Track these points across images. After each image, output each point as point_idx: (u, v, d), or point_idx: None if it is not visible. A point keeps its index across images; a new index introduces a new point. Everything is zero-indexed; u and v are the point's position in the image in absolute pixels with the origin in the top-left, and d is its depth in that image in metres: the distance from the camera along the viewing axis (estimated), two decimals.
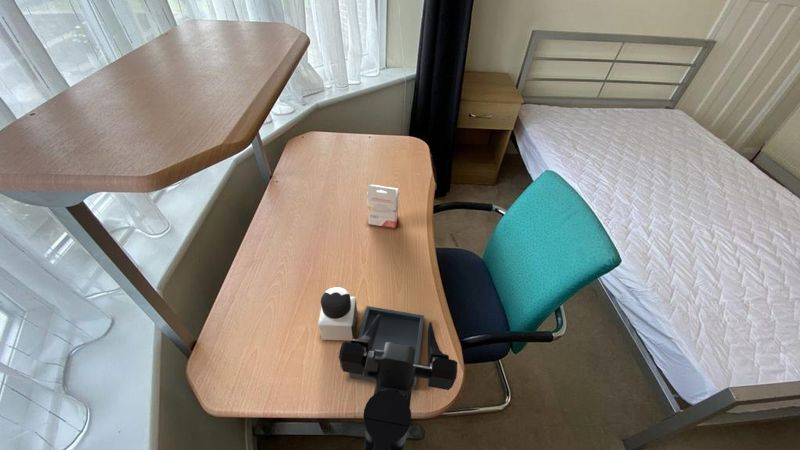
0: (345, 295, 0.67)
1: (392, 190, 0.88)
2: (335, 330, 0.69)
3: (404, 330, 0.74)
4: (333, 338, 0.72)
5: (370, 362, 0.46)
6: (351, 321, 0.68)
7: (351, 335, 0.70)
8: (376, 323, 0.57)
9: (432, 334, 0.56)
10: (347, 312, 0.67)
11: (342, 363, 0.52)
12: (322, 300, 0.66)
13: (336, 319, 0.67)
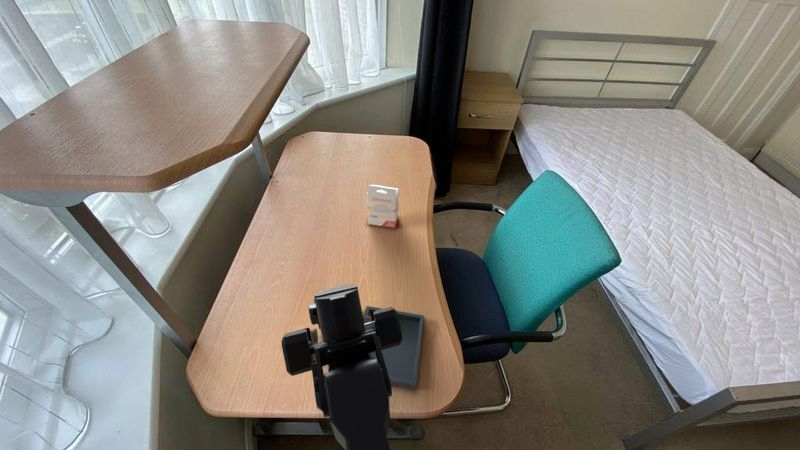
0: None
1: (392, 190, 0.88)
2: None
3: (404, 330, 0.74)
4: None
5: (312, 305, 0.49)
6: None
7: None
8: (314, 330, 0.58)
9: (368, 316, 0.60)
10: None
11: (287, 351, 0.49)
12: None
13: None
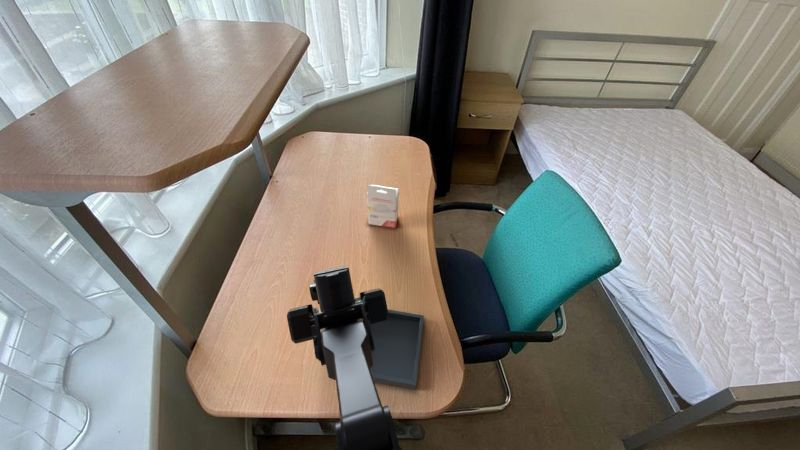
0: None
1: (392, 190, 0.88)
2: None
3: (404, 330, 0.74)
4: None
5: (312, 284, 0.59)
6: None
7: None
8: (315, 308, 0.68)
9: None
10: None
11: (291, 322, 0.59)
12: None
13: None
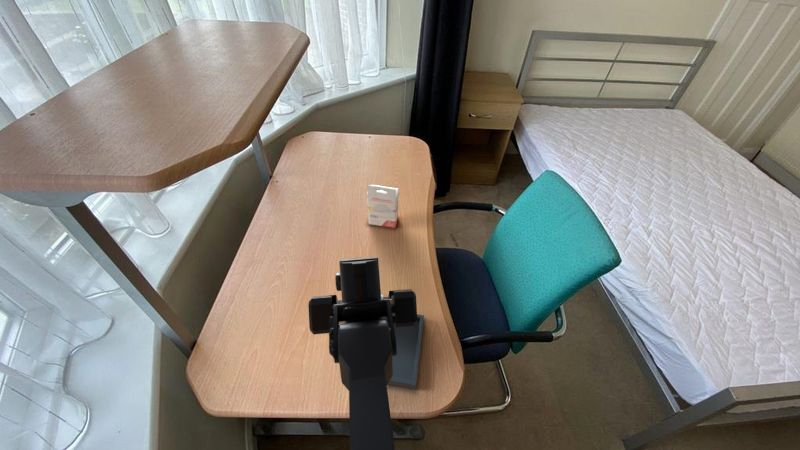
0: None
1: (392, 190, 0.88)
2: None
3: (404, 330, 0.74)
4: None
5: (339, 273, 0.54)
6: None
7: None
8: (340, 300, 0.63)
9: None
10: None
11: (312, 311, 0.55)
12: None
13: None
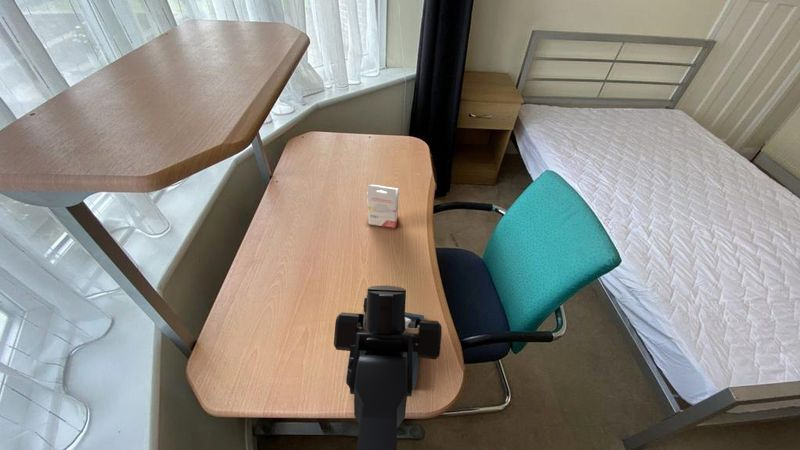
0: None
1: (392, 190, 0.88)
2: None
3: None
4: None
5: None
6: None
7: None
8: None
9: None
10: None
11: (338, 327, 0.56)
12: None
13: None
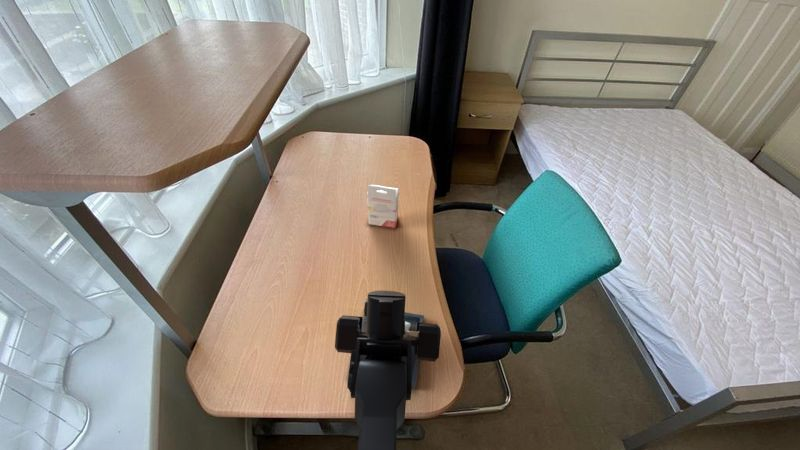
0: None
1: (392, 190, 0.88)
2: None
3: None
4: None
5: None
6: None
7: None
8: (367, 320, 0.65)
9: (416, 325, 0.65)
10: None
11: (339, 330, 0.57)
12: None
13: None
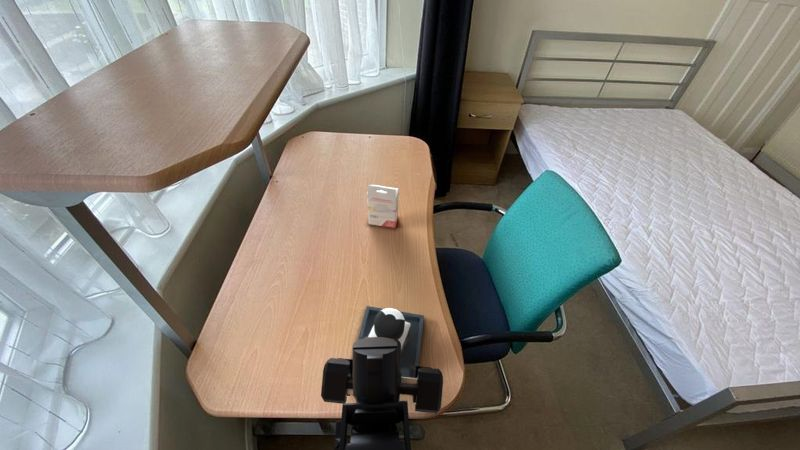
0: (400, 321, 0.63)
1: (392, 190, 0.88)
2: None
3: None
4: None
5: None
6: None
7: None
8: None
9: (414, 366, 0.57)
10: (398, 338, 0.63)
11: (326, 377, 0.50)
12: (376, 318, 0.63)
13: None
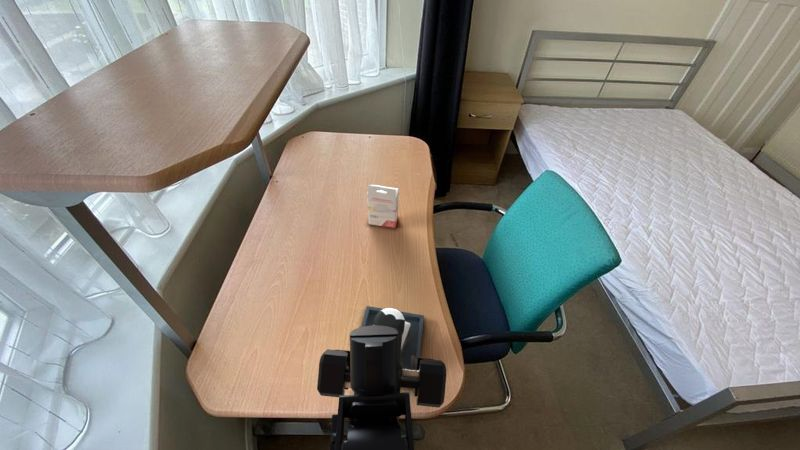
0: (400, 321, 0.63)
1: (392, 190, 0.88)
2: None
3: None
4: None
5: None
6: None
7: None
8: None
9: (416, 358, 0.54)
10: None
11: (322, 369, 0.47)
12: (376, 318, 0.63)
13: None
